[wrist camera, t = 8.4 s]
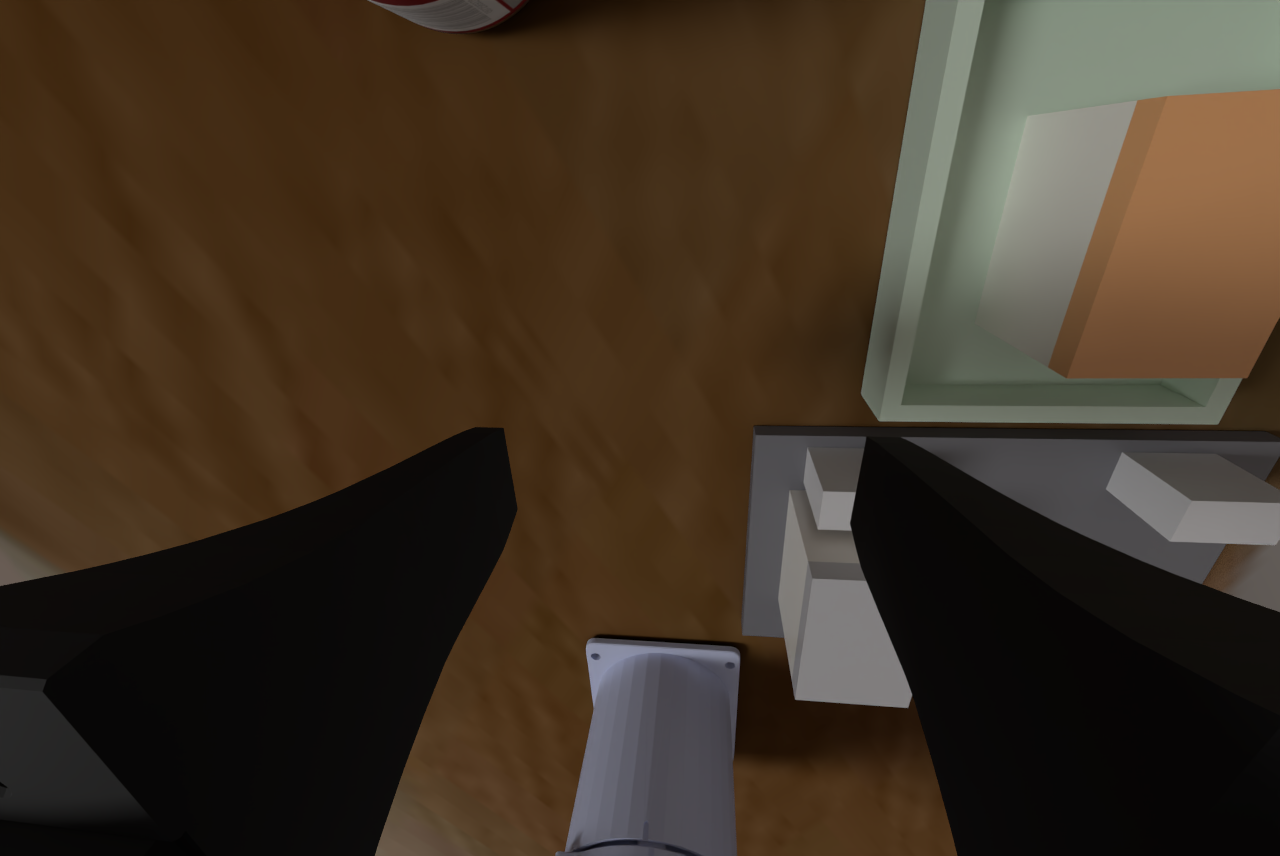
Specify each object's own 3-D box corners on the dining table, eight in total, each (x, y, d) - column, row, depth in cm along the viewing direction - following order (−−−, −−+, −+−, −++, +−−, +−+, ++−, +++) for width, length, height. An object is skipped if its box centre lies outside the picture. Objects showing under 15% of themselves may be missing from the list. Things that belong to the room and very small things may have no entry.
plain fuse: (869, 603, 23) (907, 708, 19) (777, 598, 24) (794, 699, 19) (893, 492, 20) (945, 584, 16) (789, 490, 21) (812, 578, 16)
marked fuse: (1105, 321, 17) (1247, 378, 12) (974, 323, 17) (1066, 378, 13) (1185, 106, 14) (1405, 81, 10) (1027, 115, 15) (1167, 96, 10)
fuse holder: (1142, 644, 23) (1215, 725, 20) (741, 621, 26) (746, 691, 22) (1265, 431, 18) (1390, 491, 15) (753, 425, 21) (763, 477, 17)
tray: (1161, 395, 18) (1218, 424, 16) (861, 394, 19) (878, 421, 17) (1369, -60, 13) (1496, -103, 11) (929, -21, 14) (967, -53, 12)
